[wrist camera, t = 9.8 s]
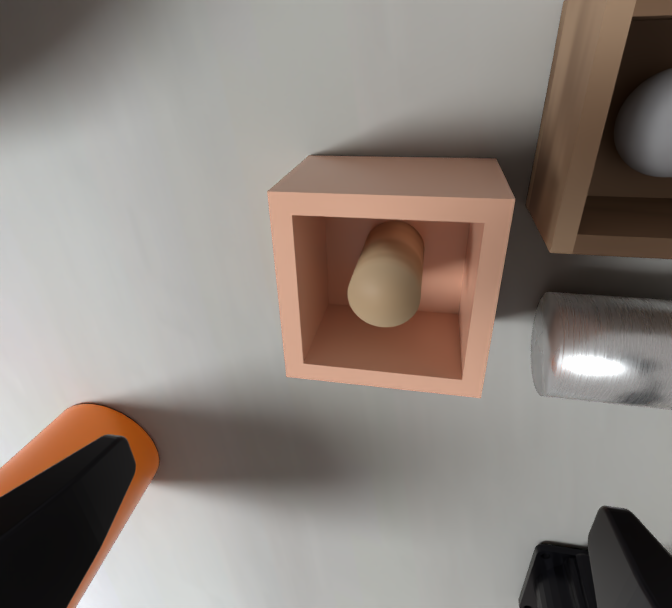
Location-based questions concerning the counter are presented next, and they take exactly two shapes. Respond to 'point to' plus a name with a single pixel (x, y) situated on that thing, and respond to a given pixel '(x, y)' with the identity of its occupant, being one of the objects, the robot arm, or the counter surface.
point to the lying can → (603, 349)
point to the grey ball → (647, 127)
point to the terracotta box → (437, 279)
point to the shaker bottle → (69, 437)
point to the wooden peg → (388, 275)
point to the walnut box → (600, 133)
